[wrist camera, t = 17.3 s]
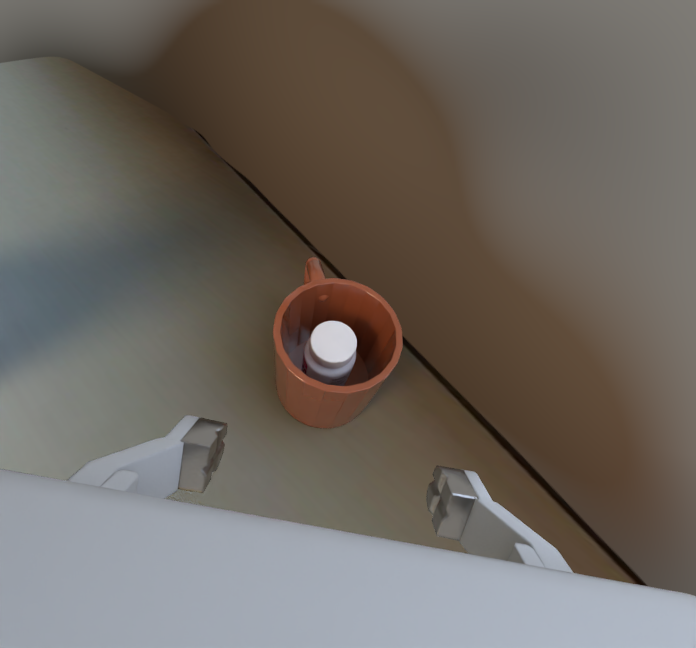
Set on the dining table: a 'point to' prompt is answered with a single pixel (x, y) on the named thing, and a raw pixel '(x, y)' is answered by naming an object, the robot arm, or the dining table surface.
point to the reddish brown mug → (371, 352)
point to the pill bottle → (330, 353)
